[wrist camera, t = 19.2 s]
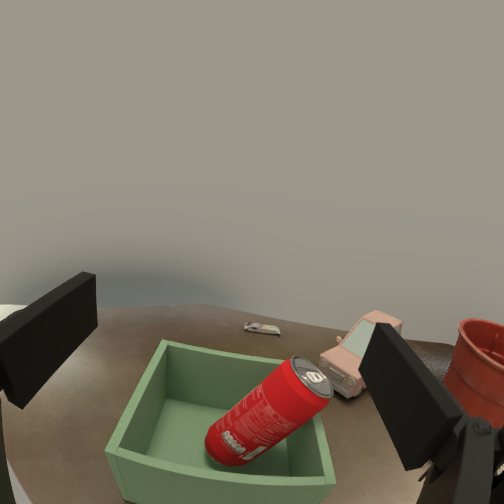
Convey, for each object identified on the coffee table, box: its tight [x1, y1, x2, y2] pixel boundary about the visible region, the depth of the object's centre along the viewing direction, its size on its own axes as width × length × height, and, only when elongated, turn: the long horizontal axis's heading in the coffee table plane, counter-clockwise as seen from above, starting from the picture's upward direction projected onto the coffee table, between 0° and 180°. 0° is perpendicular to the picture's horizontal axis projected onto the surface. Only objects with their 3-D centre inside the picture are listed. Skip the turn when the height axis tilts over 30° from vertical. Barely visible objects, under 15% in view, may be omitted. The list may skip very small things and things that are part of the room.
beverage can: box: [204, 356, 334, 467], centre depth 22 cm, size 5×5×12 cm
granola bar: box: [245, 323, 281, 334], centre depth 52 cm, size 7×2×1 cm, turn 90°
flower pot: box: [443, 318, 504, 428], centre depth 23 cm, size 16×16×16 cm
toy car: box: [318, 310, 402, 398], centre depth 40 cm, size 9×15×10 cm, turn 128°
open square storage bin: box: [105, 339, 337, 504], centre depth 22 cm, size 16×16×9 cm
